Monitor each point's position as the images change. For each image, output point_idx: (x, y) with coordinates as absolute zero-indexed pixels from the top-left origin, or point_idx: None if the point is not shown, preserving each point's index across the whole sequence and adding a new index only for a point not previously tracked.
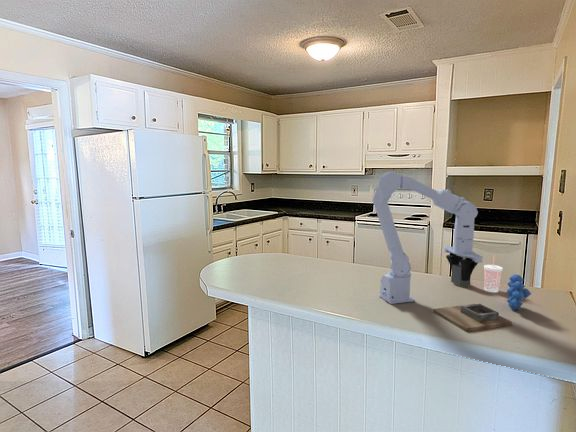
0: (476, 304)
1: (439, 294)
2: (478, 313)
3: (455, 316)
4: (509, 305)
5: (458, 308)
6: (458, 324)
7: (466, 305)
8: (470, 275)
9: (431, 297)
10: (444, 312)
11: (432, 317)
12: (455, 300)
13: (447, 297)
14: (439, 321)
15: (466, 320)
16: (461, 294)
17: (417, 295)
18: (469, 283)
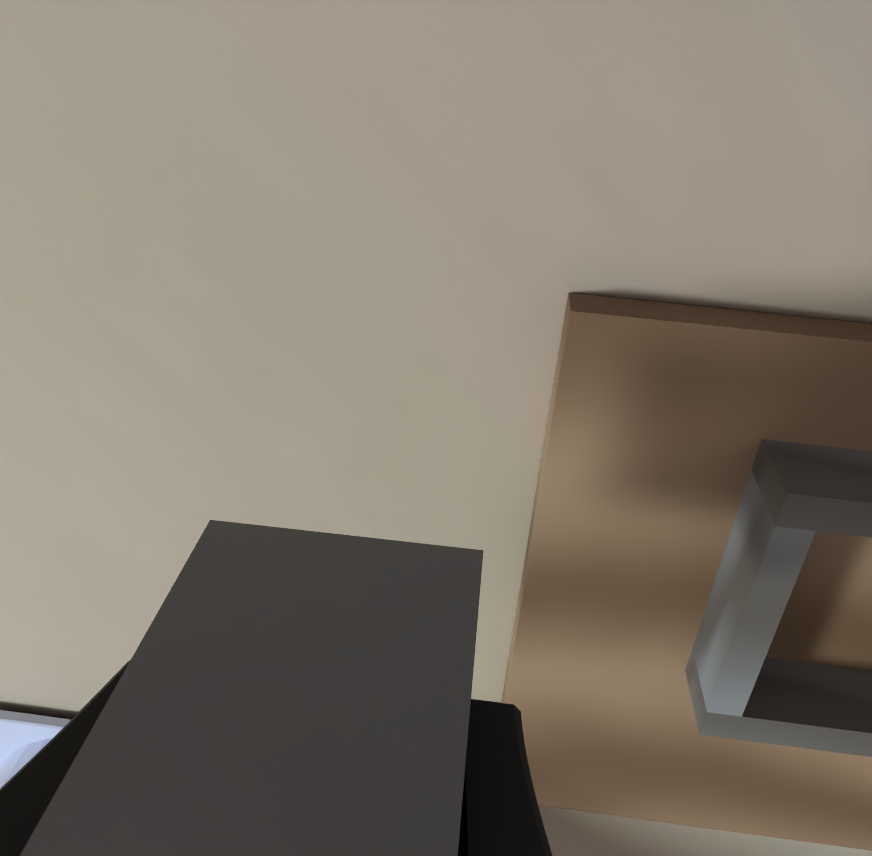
0: (774, 551)
1: (25, 371)
2: (829, 539)
3: (730, 770)
4: None
5: (591, 611)
6: (853, 841)
7: (719, 674)
8: (537, 819)
9: (121, 531)
10: (603, 779)
11: (581, 834)
12: (280, 347)
13: (152, 359)
14: (672, 843)
15: (860, 762)
16: (54, 29)
17: (39, 613)
18: (478, 577)
